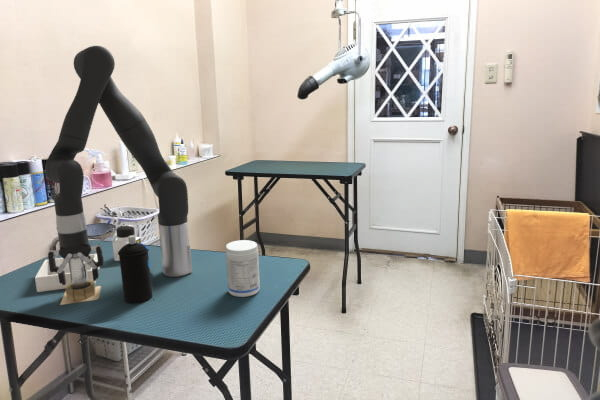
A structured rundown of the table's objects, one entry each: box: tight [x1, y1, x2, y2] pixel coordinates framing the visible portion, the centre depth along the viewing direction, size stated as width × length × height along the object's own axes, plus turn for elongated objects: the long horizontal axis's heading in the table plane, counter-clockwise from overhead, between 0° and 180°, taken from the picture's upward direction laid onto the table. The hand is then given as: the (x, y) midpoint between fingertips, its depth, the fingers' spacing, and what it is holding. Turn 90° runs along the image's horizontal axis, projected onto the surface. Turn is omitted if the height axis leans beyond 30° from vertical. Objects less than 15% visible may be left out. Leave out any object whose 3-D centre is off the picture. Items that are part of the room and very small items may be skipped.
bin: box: [34, 253, 101, 293], centre depth 152 cm, size 16×16×6 cm
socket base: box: [59, 280, 102, 306], centre depth 140 cm, size 10×10×4 cm
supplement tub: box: [225, 239, 261, 298], centre depth 142 cm, size 10×10×15 cm
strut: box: [69, 253, 89, 290], centre depth 139 cm, size 5×5×14 cm
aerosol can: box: [118, 235, 155, 305], centre depth 135 cm, size 8×8×20 cm
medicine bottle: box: [111, 224, 142, 262], centre depth 172 cm, size 7×7×12 cm
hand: (79, 282), depth 139 cm, fingers open, 8 cm apart
